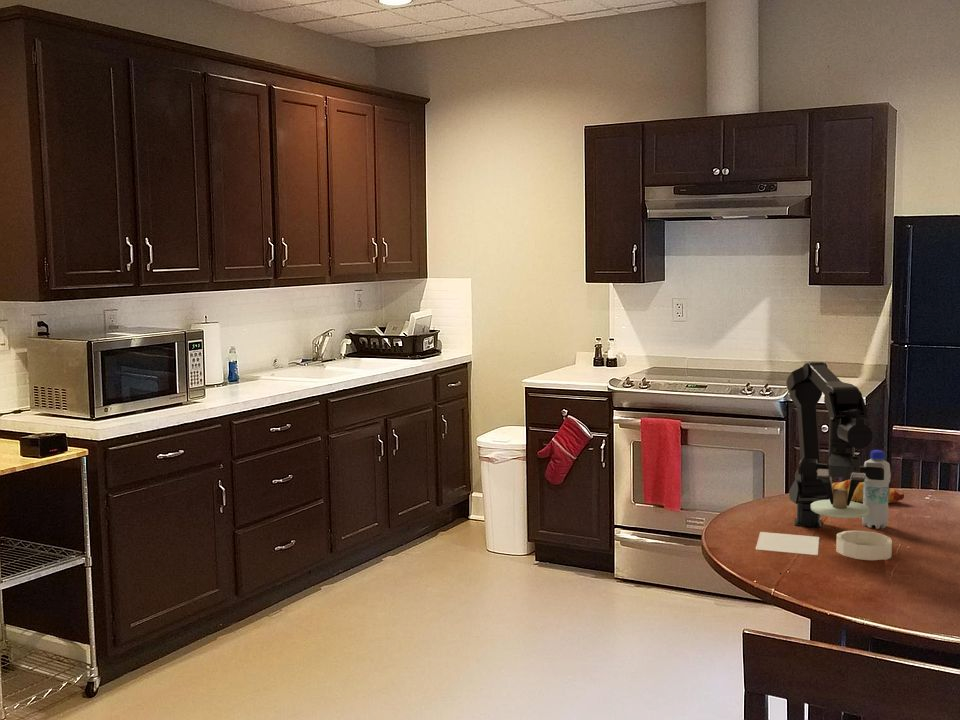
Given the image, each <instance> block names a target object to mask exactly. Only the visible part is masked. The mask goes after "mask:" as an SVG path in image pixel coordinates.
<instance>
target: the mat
mask: <svg viewBox="0 0 960 720" xmlns="http://www.w3.org/2000/svg"><path fill="white" fill-rule="evenodd" d="M819 545H820V536H811V535H803V534H802V535H799V534H790V533H777V532H767V531H760V532H759V535H758V538H757V542H756V545H755V550H757V551H767V552H779V553H789V554H799V555H808V556H809V555H812V556H819Z"/></svg>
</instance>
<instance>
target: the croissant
mask: <svg viewBox="0 0 960 720" xmlns="http://www.w3.org/2000/svg"><path fill="white" fill-rule="evenodd" d="M850 482H851V479H846V480H844V481H837V482H832V488H833V489H845V490H847V491H848V493H849V487H850ZM863 490H864V482H860V483H859V484H858V486H857V487H856V489H855V491H854V494H853V496H852V499H851V501H853V502H855V501H856V502H857V503H862V502H863ZM848 493H847V499H848ZM904 498H905V493H903V492H900V491H897V490H896V489H894V488H892V487H889V493H888V504H895V503H898V502H899V501H903V500H904Z"/></svg>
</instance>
